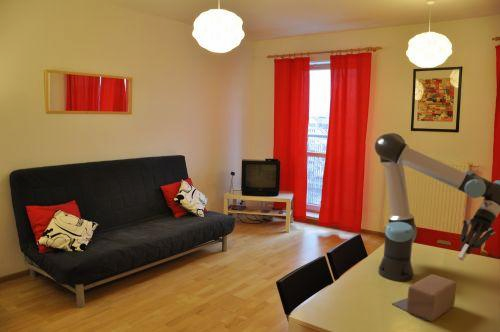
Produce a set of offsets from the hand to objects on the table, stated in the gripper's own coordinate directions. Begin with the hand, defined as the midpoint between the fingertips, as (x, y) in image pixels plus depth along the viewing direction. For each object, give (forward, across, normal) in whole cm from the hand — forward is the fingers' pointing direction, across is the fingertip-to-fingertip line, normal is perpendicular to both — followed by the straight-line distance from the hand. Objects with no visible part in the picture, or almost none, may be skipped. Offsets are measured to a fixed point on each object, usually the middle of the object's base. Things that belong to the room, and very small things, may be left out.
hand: (460, 258), depth 166 cm
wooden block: (+16, +3, -6) cm, 17 cm away
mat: (+27, +2, -10) cm, 29 cm away
